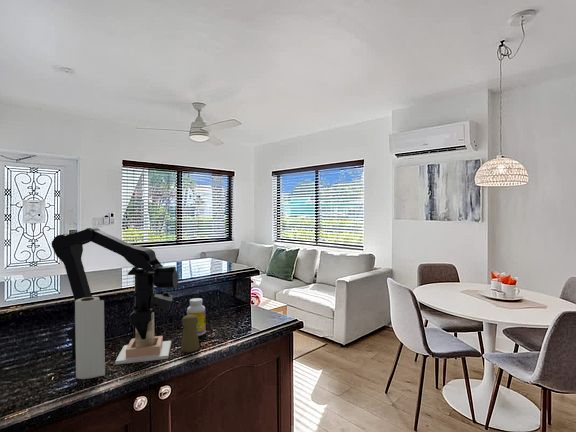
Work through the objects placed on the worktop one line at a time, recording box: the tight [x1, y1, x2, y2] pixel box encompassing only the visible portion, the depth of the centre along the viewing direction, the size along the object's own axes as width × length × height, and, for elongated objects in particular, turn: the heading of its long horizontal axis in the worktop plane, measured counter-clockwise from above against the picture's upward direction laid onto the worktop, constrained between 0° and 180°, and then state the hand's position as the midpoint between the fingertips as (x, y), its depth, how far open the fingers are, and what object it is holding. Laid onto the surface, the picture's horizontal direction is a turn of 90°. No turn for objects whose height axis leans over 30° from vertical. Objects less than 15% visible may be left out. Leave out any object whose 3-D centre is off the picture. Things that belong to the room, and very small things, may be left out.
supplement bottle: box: [186, 297, 207, 337], centre depth 128 cm, size 7×7×13 cm
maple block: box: [134, 312, 155, 347], centre depth 110 cm, size 5×5×10 cm
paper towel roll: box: [74, 296, 106, 380], centre depth 95 cm, size 7×6×21 cm
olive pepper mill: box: [180, 314, 200, 353], centre depth 114 cm, size 6×6×11 cm
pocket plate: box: [114, 335, 172, 365], centre depth 110 cm, size 15×13×4 cm
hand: (145, 336), depth 110 cm, fingers closed on maple block, 5 cm apart
